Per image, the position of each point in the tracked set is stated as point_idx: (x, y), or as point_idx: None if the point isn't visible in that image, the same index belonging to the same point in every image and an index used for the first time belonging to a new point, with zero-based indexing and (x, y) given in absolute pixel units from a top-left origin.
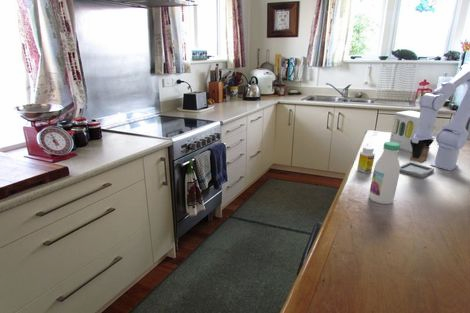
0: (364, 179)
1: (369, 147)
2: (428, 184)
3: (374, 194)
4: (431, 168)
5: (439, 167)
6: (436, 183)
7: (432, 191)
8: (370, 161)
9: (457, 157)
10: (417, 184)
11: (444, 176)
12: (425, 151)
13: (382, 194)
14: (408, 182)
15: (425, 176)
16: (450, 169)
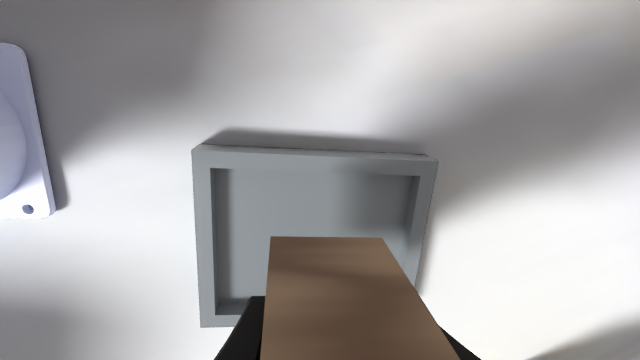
0: (631, 336)
1: None
2: (493, 85)
3: None
4: (209, 167)
5: (42, 143)
6: (434, 49)
7: (603, 25)
8: None
9: None
10: (539, 137)
11: (224, 47)
12: (401, 325)
13: None
14: (539, 186)
15: (355, 151)
16: (7, 49)
